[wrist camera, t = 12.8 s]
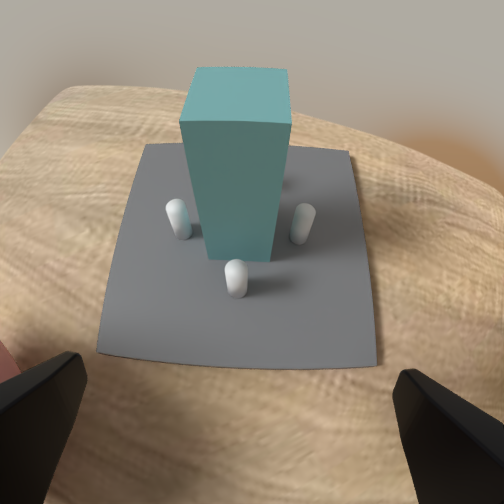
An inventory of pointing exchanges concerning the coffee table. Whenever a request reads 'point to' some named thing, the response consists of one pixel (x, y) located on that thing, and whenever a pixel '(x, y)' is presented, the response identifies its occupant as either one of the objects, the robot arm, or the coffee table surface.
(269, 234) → the teal block
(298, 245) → the peg plate
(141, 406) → the coffee table surface
